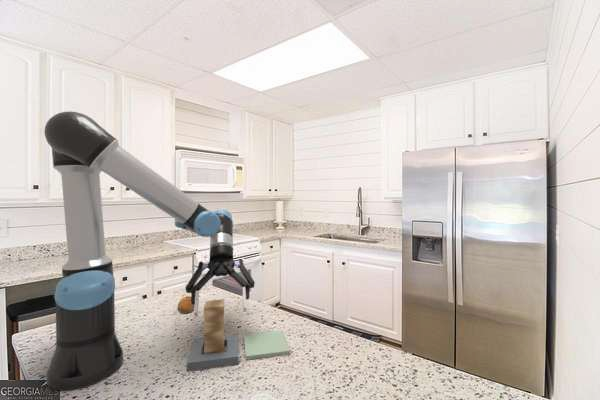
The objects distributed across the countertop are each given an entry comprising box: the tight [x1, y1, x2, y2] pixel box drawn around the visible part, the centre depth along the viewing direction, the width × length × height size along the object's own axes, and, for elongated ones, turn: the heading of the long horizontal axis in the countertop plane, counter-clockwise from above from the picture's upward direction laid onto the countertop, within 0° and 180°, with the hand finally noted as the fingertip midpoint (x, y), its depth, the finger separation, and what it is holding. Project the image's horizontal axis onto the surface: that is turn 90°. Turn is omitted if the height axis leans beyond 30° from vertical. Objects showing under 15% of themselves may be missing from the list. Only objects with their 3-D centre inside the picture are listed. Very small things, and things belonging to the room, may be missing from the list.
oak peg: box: [203, 299, 225, 355], centre depth 78 cm, size 5×5×14 cm
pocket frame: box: [186, 333, 240, 372], centre depth 78 cm, size 12×12×2 cm
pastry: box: [177, 295, 195, 314], centre depth 109 cm, size 9×7×4 cm
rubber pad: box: [243, 329, 291, 361], centre depth 83 cm, size 12×12×1 cm
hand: (220, 312), depth 82 cm, fingers open, 13 cm apart
